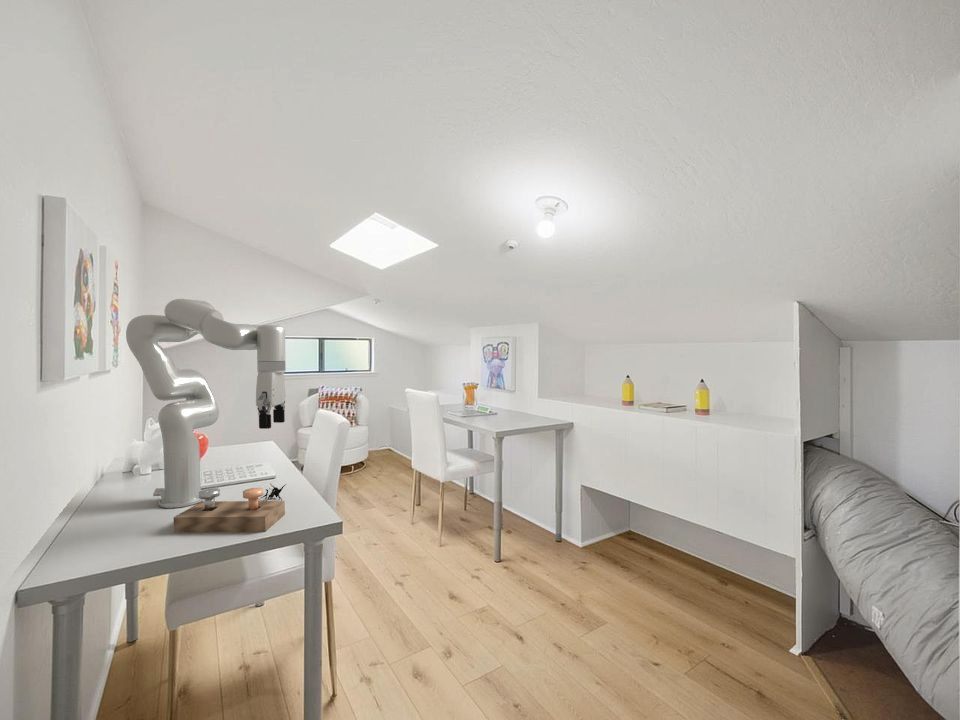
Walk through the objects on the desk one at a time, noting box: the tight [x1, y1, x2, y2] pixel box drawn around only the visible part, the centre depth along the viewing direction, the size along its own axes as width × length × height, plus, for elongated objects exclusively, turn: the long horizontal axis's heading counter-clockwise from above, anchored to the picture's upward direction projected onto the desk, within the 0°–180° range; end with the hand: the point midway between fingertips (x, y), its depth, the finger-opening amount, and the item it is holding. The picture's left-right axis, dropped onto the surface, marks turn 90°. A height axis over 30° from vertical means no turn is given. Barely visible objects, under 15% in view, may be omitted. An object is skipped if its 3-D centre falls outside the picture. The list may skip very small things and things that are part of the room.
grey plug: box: [199, 487, 221, 511], centre depth 125 cm, size 5×5×5 cm
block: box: [172, 500, 286, 533], centre depth 125 cm, size 24×12×4 cm, turn 90°
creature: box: [258, 483, 287, 501], centre depth 143 cm, size 8×5×8 cm
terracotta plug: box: [242, 487, 264, 511], centre depth 125 cm, size 5×5×5 cm
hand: (272, 425), depth 134 cm, fingers open, 9 cm apart
